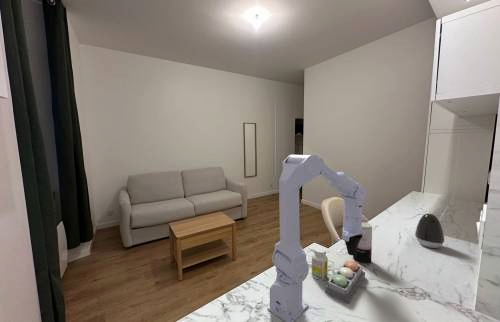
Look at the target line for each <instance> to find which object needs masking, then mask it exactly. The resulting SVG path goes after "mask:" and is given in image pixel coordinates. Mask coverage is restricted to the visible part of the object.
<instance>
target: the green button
mask: <svg viewBox="0 0 500 322" xmlns="http://www.w3.org/2000/svg"><path fill="white" fill-rule="evenodd" d="M334 274H335V273H334ZM334 274H333V275H334ZM333 275H332V276H333ZM333 283H334V284H335V285H337V286H340V287H346V286H347V278H346V277H345V276H343V275H340V274H335V275H334V276H333Z"/></svg>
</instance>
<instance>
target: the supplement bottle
mask: <svg viewBox="0 0 500 322" xmlns="http://www.w3.org/2000/svg"><path fill="white" fill-rule="evenodd" d="M326 254H327V250H326V249H325V248H324V247H321V246H317V247H316V246H315V247H314V248H313V253H312V254H311V276H312V277H313V278H314V279H316V280H319V281H325V280H326V279H327V278H328V263H329V261H328V256H327V255H326Z"/></svg>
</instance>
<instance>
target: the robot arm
mask: <svg viewBox="0 0 500 322" xmlns="http://www.w3.org/2000/svg"><path fill="white" fill-rule="evenodd" d="M318 176H319V177H321V178H323V179H324V180H326V181H328V182H329V185H330V187H331V188H333V190H336V191H338V192H339V193H340V194H339V195H340V196H341V197H343V226H342V233H341V240H342V241H344V244H345V246H346V250H347V251H346V252H347V255H350V256H352V257H353V256H355V255H356V252H357V248H358V244H359V242H360V240H361V238H362V237H363V235H362V234H365V233H366V231H364V230H362V222H363V206H364V204H365V198H366V196H367V190H366V186H365V185H364V184H362V183H360V182H356V181H355V179H353V178H351V177H349V176H348V175H347V172H345V171H344V172H343V171H339V172H336V171H335V170H334V169H332V168H331V167H330V166H329V165H327V164H326V163H325V160H324V159H323V158H322V157H320V156H318V155H317V154H294V153H293V154H289V155H288V156H287V157H286V158H285V159H284V160H282V171H281V175H280V177H279V180H278V197H279V199H278V204H279V208H278V210H279V211H278V212H279V241H278V242H277V243H275V244H274V246H273V247H274V251H273V254H272V256H271V257H272V258H271V261H272V264H273V265H274V266H273V267H275V271H276V278H275V281H274V282H273V283H272V284H271V286H270V288H269V305H268V306H267V310H268V311H270V312H271V313H273V315H276V316H277V317H278V318H280V319H282V320H283V321H284V322H295V321H296V320H297V319H298V318H299V316H300V315H302V313H303V312H304V311H305V310H306V309H307V307H308V306H309V302H307V301H305V300H303V282H304V281H305V280H306V279H307V278H308V275H309V270H310V266H309V263H308V261H307V254H306V252H305V250H304V249H303V246H302V245H301V242H300V241H301V238H300V236H301V233H300V229H301V228H300V226H301V225H300V189H301V187H303V186H304V185H305V184H307V183H309V182H310V181H312V180H314V179H315V178H317V177H318Z"/></svg>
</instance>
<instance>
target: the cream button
mask: <svg viewBox="0 0 500 322" xmlns="http://www.w3.org/2000/svg"><path fill="white" fill-rule="evenodd" d="M340 267H341V266H340ZM340 267H339V269H340V275H343V276H345V277H346V278H347V279H352V278H353V271H352V270H351V269H349V268H346V267H341V268H340Z"/></svg>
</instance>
